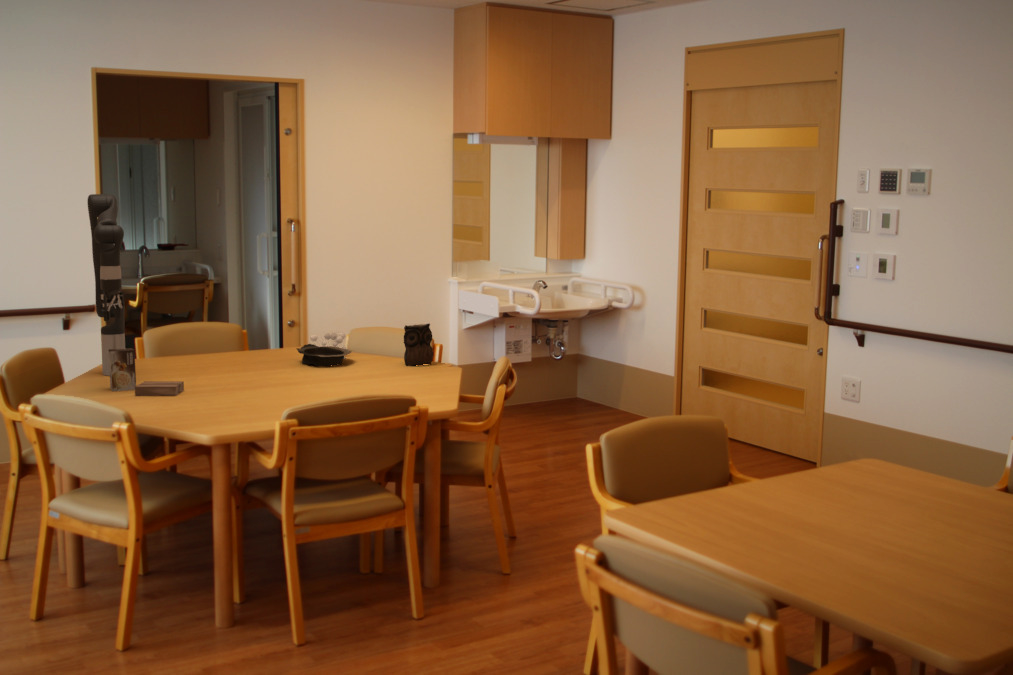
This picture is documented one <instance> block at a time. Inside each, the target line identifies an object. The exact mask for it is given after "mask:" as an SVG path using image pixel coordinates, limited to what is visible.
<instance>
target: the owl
mask: <svg viewBox="0 0 1013 675" xmlns="http://www.w3.org/2000/svg"><path fill="white" fill-rule="evenodd" d="M430 326H431V323H420V324H413V325H406V324H405V325H404V328H403V329H404V334H403V344H404V347H405V351H404V355H403V360H404V365H405V366H406V367H417V366H416V365H423V364H430V365H431V364H432V362H433V359H434V358H433V357H434V356H435V355H434V351H433V349H434V348H433V347H432V345H431V343H432V341H433V333H432V330H431V328H430Z"/></svg>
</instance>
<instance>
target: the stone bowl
mask: <svg viewBox="0 0 1013 675" xmlns="http://www.w3.org/2000/svg"><path fill="white" fill-rule="evenodd" d="M316 345H317V344H316ZM316 345H315V344H312V343H307V344H304V345H302V346H301V347H300V348H298V347H296V350H297V352H298V353H299V354H301V355H303V354H304V355H303V356H302V360H301V363H302V365H304V366H305V365H306V366H308V365H309V364H311V365H313V366H314V367H319V366H325V367H332V366H331V365H336V366H338V365H337V364H340V365H341V364H342V363H343V360H344V359H343V358H344V357H346V356H348V355H351V354H352V351H351V350H349V349H347V348H346V349H343V348H342V347H340V346H337V347H335V346H333V345H325V346H323V345H322V346H318V345H317V346H316ZM309 366H310V365H309Z"/></svg>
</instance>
